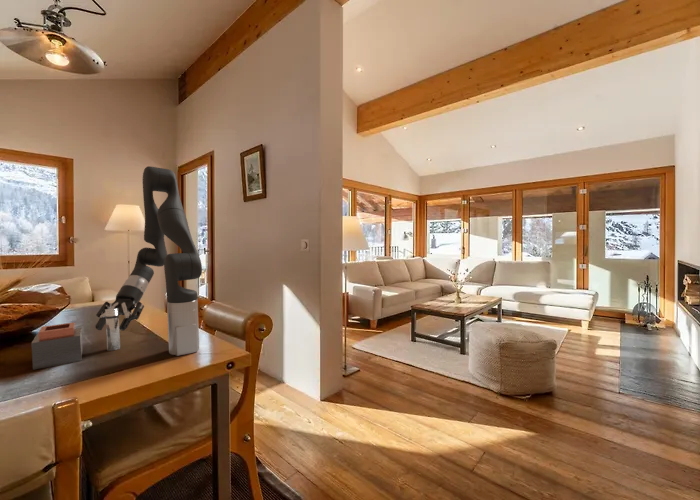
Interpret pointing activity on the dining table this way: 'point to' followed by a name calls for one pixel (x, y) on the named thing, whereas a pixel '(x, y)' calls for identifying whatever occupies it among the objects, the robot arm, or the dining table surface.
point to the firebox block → (57, 345)
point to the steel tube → (112, 329)
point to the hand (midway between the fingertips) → (109, 329)
